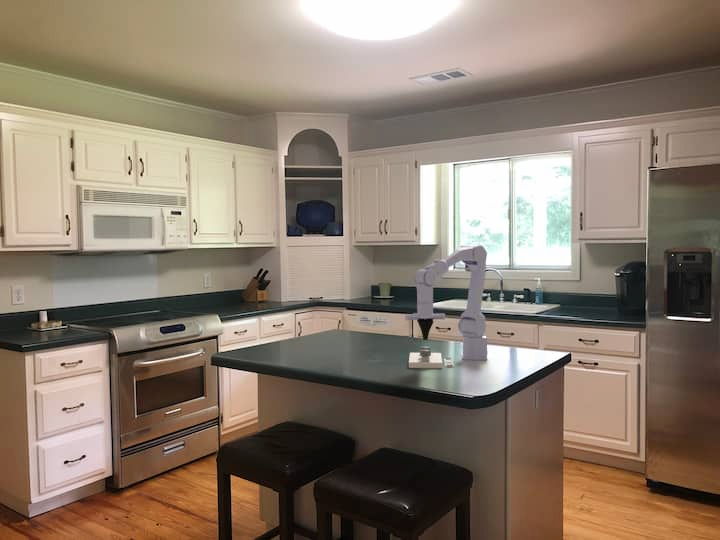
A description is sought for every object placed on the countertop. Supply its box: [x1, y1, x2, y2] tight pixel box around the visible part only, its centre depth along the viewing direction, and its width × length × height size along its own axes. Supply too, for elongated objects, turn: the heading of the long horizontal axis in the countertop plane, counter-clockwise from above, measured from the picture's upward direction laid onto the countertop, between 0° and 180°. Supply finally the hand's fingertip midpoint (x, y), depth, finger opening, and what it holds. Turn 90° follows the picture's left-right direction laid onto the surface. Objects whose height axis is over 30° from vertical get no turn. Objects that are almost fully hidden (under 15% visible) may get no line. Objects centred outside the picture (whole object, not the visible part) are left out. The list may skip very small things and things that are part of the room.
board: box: [408, 352, 443, 369], centre depth 219 cm, size 12×18×2 cm, turn 174°
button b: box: [419, 345, 432, 351], centre depth 219 cm, size 4×4×4 cm
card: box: [443, 357, 455, 368], centre depth 219 cm, size 3×14×1 cm, turn 173°
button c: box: [419, 349, 432, 362], centre depth 213 cm, size 4×4×4 cm
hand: (425, 339), depth 213 cm, fingers closed
